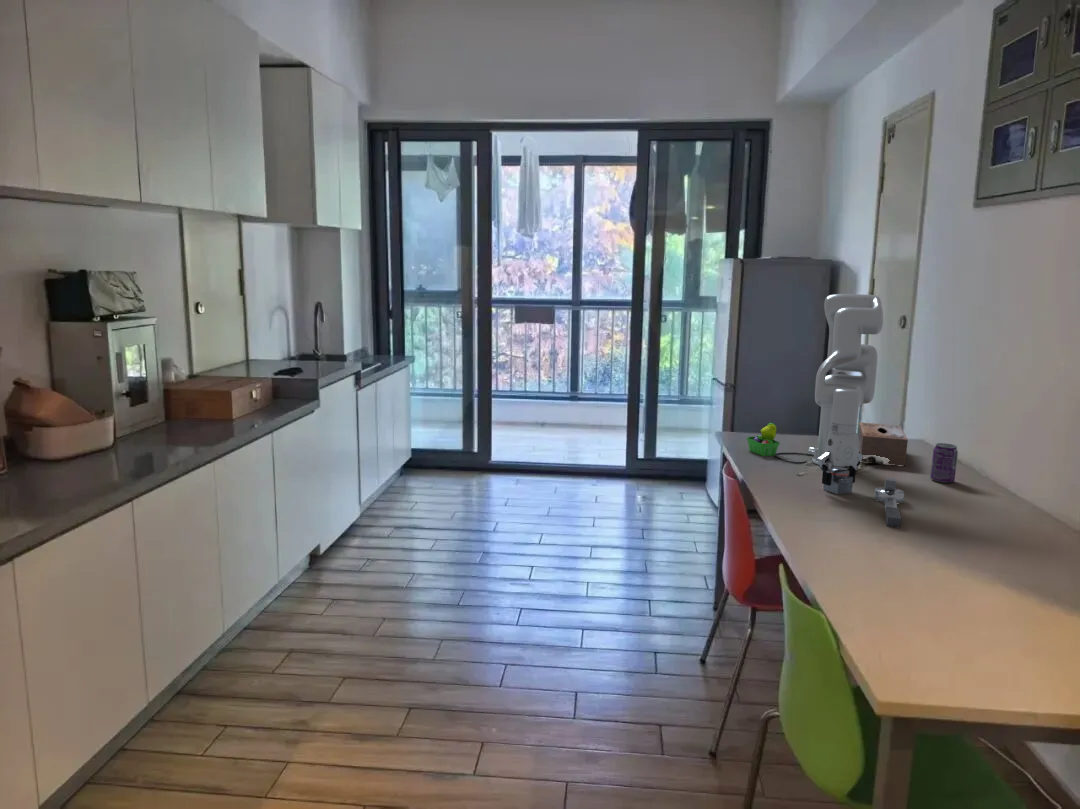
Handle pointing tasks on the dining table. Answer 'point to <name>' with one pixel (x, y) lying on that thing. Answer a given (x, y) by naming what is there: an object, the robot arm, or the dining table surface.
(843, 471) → the grey domed block
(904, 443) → the tissue box cover
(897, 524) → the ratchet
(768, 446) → the fruit basket
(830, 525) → the dining table surface
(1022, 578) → the dining table surface
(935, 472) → the beverage can
